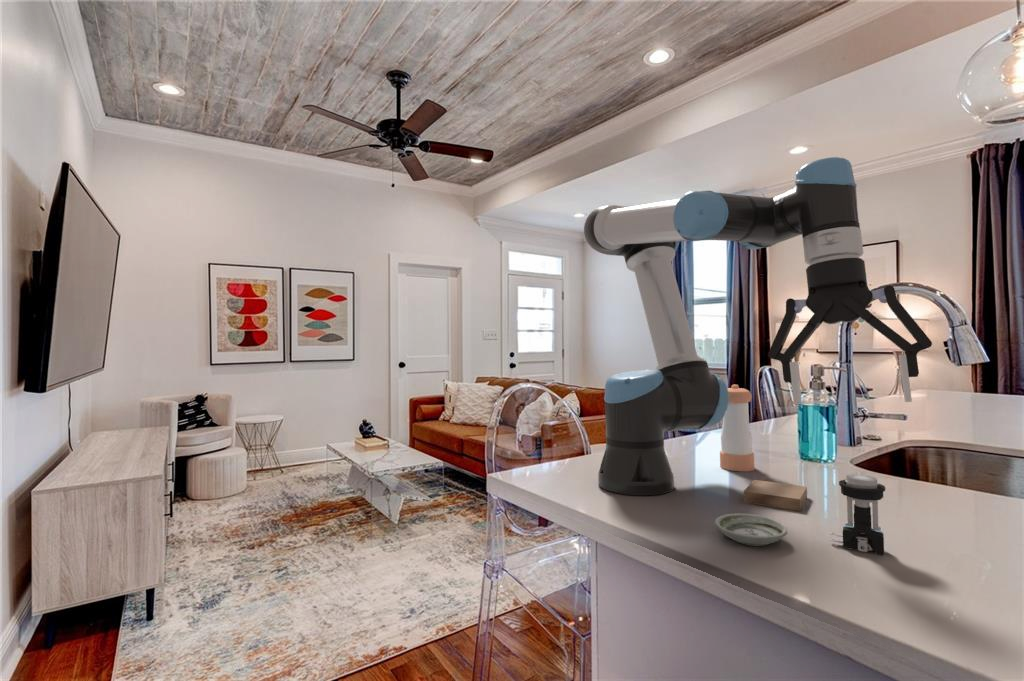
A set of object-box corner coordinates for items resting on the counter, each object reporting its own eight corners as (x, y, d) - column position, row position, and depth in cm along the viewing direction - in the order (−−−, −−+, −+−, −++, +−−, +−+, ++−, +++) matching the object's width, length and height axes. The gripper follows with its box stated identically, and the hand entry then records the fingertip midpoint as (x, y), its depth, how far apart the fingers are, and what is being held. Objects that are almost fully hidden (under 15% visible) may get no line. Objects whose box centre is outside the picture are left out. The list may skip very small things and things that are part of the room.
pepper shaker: (744, 463, 121) (742, 383, 121) (760, 470, 114) (758, 385, 114) (714, 464, 121) (712, 383, 121) (729, 472, 113) (727, 386, 113)
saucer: (702, 531, 79) (702, 516, 79) (756, 525, 81) (755, 510, 81) (744, 557, 70) (743, 539, 70) (803, 549, 72) (803, 532, 72)
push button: (828, 549, 71) (826, 477, 71) (830, 537, 75) (829, 469, 75) (887, 560, 67) (885, 484, 67) (886, 546, 72) (884, 475, 72)
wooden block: (743, 502, 92) (743, 491, 92) (754, 489, 99) (754, 479, 99) (800, 510, 87) (799, 499, 87) (807, 497, 94) (806, 486, 94)
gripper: (740, 272, 81) (753, 406, 79) (943, 239, 66) (965, 401, 65) (750, 279, 87) (763, 403, 85) (938, 249, 72) (959, 398, 71)
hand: (850, 403), depth 75 cm, fingers open, 13 cm apart
